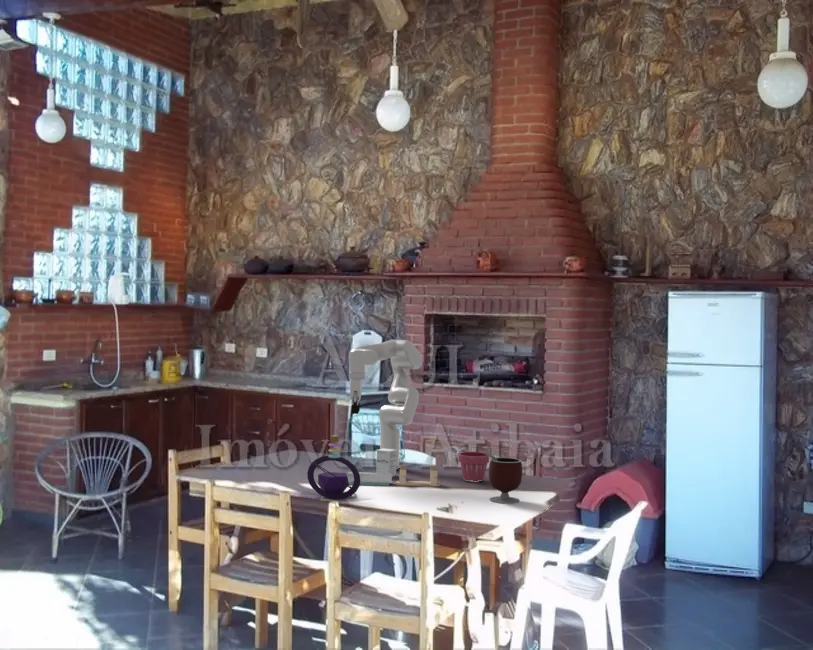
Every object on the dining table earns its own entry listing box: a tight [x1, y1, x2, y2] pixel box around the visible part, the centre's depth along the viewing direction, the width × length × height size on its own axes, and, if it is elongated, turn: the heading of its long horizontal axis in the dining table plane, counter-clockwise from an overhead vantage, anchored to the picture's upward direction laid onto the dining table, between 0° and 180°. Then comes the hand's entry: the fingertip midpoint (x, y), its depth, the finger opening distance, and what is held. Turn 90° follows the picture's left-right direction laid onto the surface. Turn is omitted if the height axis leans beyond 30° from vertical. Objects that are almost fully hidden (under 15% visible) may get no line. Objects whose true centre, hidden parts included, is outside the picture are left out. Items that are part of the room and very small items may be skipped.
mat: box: [349, 482, 390, 487], centre depth 397 cm, size 8×18×1 cm, turn 90°
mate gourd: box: [485, 452, 523, 505], centre depth 367 cm, size 16×14×20 cm
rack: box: [395, 464, 441, 487], centre depth 398 cm, size 6×20×8 cm, turn 90°
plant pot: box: [458, 451, 490, 481], centre depth 411 cm, size 14×14×13 cm
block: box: [346, 471, 393, 484], centre depth 398 cm, size 20×4×4 cm, turn 90°
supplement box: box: [375, 448, 397, 478], centre depth 418 cm, size 7×7×13 cm
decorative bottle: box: [307, 434, 361, 500], centre depth 369 cm, size 22×21×25 cm
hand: (355, 412), depth 413 cm, fingers open, 9 cm apart
